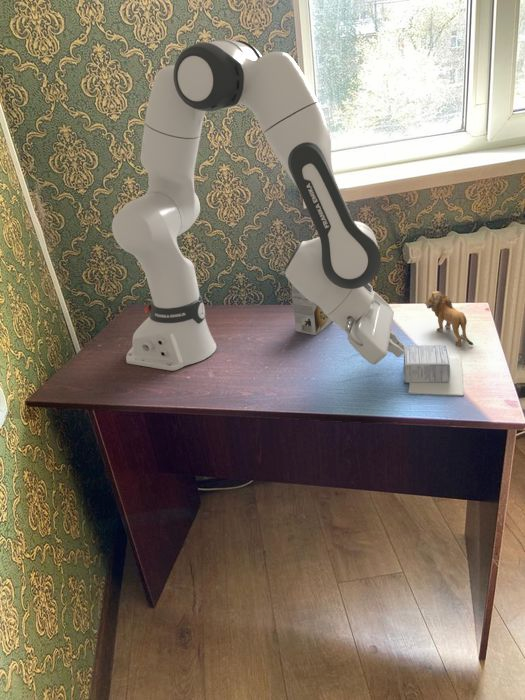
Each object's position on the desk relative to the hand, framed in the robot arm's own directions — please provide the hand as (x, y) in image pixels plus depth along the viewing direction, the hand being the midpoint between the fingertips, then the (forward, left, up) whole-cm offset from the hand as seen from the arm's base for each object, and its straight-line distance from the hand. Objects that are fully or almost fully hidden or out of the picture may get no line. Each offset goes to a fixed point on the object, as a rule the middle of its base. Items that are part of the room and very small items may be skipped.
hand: (402, 351), depth 109 cm
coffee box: (-23, +22, -6) cm, 32 cm away
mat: (+7, 0, -5) cm, 9 cm away
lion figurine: (+9, +19, -6) cm, 22 cm away
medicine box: (0, 0, -3) cm, 3 cm away
